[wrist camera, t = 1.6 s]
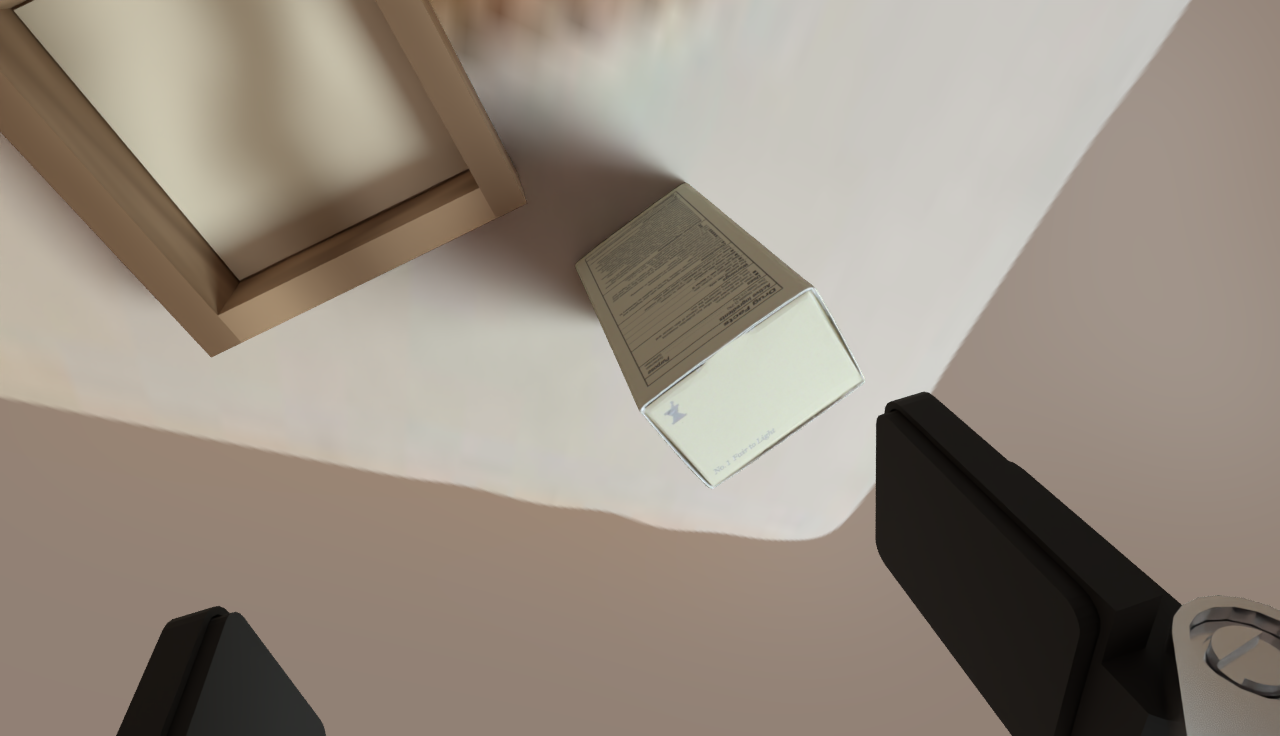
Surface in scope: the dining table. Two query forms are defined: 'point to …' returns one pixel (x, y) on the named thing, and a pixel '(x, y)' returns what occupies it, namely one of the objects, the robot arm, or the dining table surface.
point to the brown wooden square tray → (252, 144)
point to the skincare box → (715, 334)
